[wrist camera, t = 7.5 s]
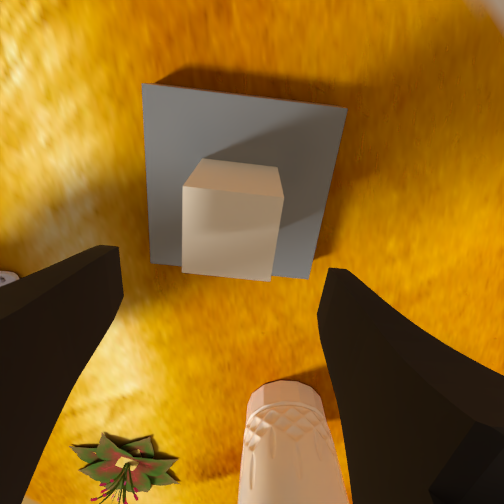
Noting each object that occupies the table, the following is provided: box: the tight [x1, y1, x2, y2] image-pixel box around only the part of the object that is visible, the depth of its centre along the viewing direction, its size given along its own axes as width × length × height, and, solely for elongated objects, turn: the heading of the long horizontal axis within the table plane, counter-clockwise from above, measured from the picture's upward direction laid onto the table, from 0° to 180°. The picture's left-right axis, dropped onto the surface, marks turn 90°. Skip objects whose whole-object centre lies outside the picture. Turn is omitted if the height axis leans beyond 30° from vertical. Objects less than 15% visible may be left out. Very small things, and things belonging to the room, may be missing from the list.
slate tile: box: [142, 83, 348, 279], centre depth 19 cm, size 10×10×2 cm
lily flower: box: [69, 433, 179, 504], centre depth 33 cm, size 12×12×5 cm
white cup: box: [238, 380, 349, 504], centre depth 25 cm, size 8×8×10 cm
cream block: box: [182, 158, 284, 282], centre depth 16 cm, size 4×4×5 cm
